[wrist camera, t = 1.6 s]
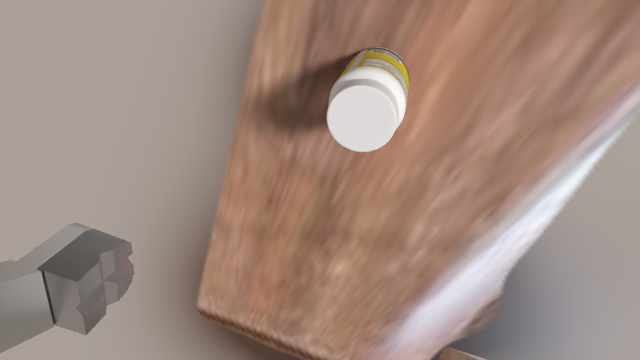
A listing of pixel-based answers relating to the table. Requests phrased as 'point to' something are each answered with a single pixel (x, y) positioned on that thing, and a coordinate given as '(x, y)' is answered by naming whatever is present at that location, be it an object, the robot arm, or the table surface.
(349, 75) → the supplement bottle
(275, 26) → the table surface
